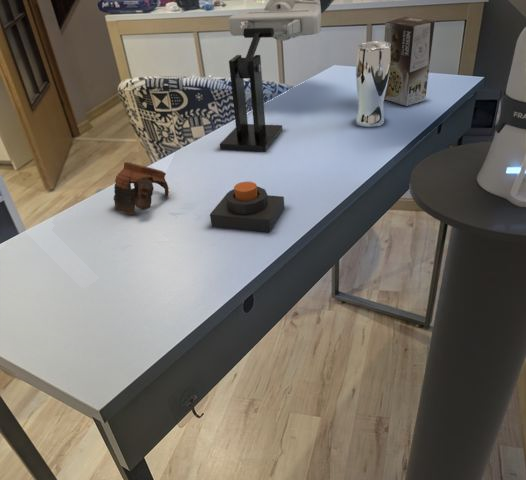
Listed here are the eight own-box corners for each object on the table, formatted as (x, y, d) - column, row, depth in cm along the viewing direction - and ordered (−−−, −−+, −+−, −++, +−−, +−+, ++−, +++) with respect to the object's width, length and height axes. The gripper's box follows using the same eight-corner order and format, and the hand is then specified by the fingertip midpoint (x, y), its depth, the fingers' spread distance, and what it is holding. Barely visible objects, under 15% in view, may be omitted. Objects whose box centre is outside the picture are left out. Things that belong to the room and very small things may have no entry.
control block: (284, 208, 87) (283, 185, 84) (269, 232, 81) (268, 208, 79) (229, 204, 90) (226, 181, 87) (211, 226, 84) (207, 203, 82)
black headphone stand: (240, 129, 117) (231, 50, 106) (282, 130, 114) (278, 49, 104) (220, 149, 109) (209, 66, 98) (265, 152, 106) (259, 66, 95)
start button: (260, 192, 84) (259, 182, 83) (253, 202, 81) (252, 192, 80) (239, 190, 85) (238, 180, 84) (232, 200, 82) (230, 190, 81)
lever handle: (247, 35, 108) (244, 24, 106) (274, 35, 106) (272, 24, 104) (231, 78, 103) (227, 67, 101) (259, 78, 102) (256, 67, 100)
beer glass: (378, 114, 117) (383, 39, 107) (391, 124, 112) (398, 45, 102) (349, 119, 116) (351, 43, 106) (361, 130, 111) (365, 51, 101)
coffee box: (426, 100, 122) (436, 20, 111) (406, 107, 119) (414, 25, 109) (399, 92, 128) (406, 15, 117) (379, 98, 125) (384, 20, 115)
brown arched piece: (106, 205, 94) (113, 158, 92) (157, 215, 99) (165, 171, 96) (118, 214, 84) (126, 162, 82) (174, 226, 89) (183, 176, 86)
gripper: (239, 2, 118) (216, 14, 109) (327, -2, 113) (311, 11, 103) (242, 33, 123) (220, 48, 113) (327, 32, 117) (311, 47, 107)
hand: (264, 30), depth 108 cm, fingers open, 8 cm apart
